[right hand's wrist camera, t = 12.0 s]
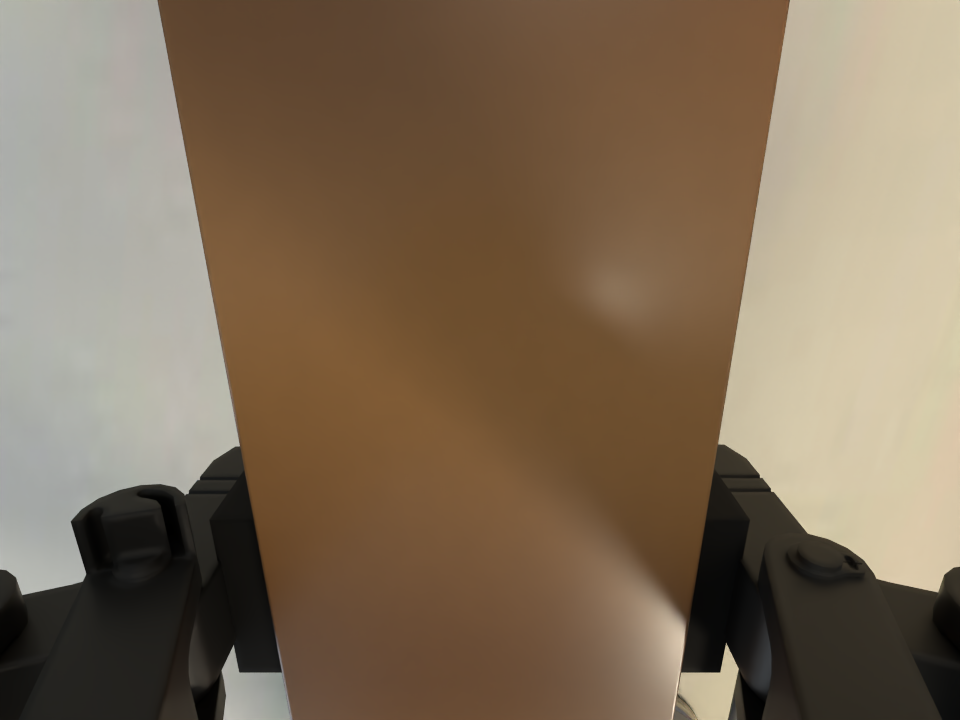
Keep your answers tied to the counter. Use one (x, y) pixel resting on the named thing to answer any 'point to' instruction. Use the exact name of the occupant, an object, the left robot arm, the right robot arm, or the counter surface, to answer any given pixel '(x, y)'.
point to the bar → (477, 330)
